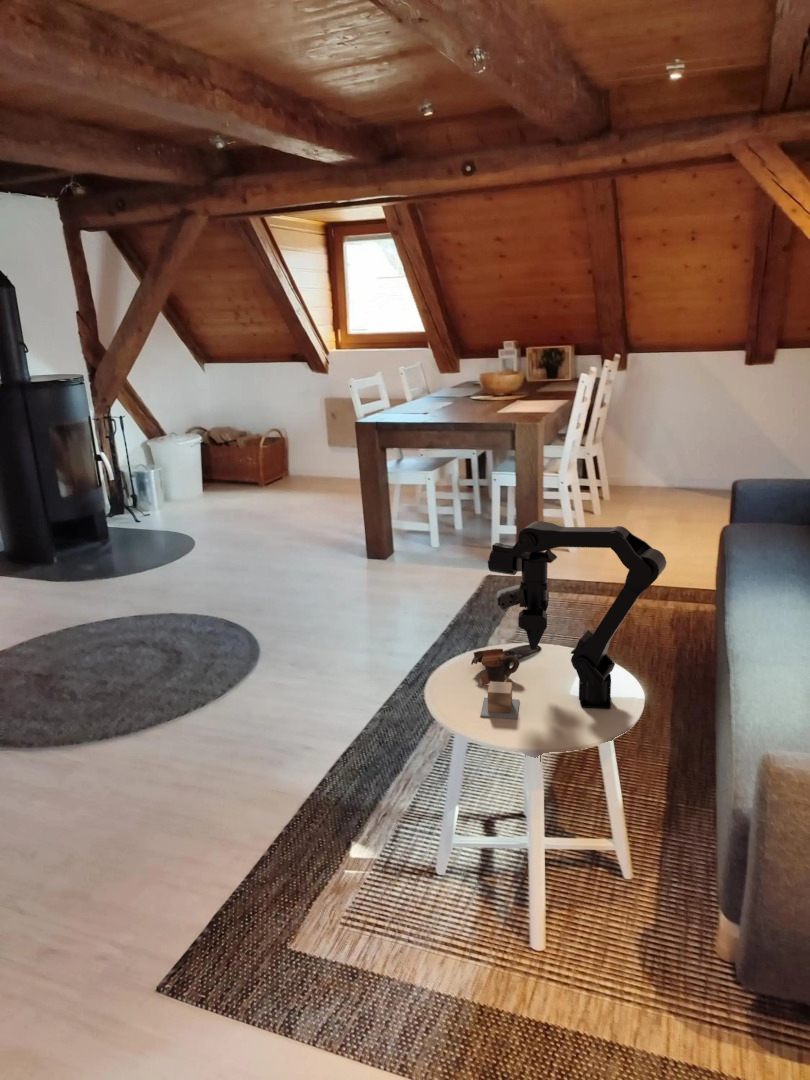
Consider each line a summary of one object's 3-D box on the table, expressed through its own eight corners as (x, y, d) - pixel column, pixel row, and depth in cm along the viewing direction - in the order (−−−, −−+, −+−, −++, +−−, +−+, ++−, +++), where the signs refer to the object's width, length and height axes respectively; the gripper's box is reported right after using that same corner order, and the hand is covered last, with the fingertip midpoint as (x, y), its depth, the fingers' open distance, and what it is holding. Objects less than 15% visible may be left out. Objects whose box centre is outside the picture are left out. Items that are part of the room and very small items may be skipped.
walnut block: (512, 702, 176) (512, 682, 174) (510, 713, 171) (510, 693, 169) (490, 700, 177) (489, 681, 175) (487, 712, 172) (487, 692, 170)
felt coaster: (519, 701, 177) (519, 699, 177) (516, 719, 169) (516, 717, 169) (484, 698, 178) (484, 697, 178) (480, 716, 171) (480, 715, 171)
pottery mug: (469, 686, 185) (464, 652, 187) (481, 686, 194) (477, 653, 196) (517, 680, 181) (512, 645, 183) (528, 680, 189) (523, 646, 191)
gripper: (501, 563, 185) (502, 623, 189) (494, 591, 167) (495, 657, 172) (549, 564, 182) (548, 625, 187) (547, 593, 165) (546, 659, 170)
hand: (534, 640), depth 179 cm, fingers open, 9 cm apart
